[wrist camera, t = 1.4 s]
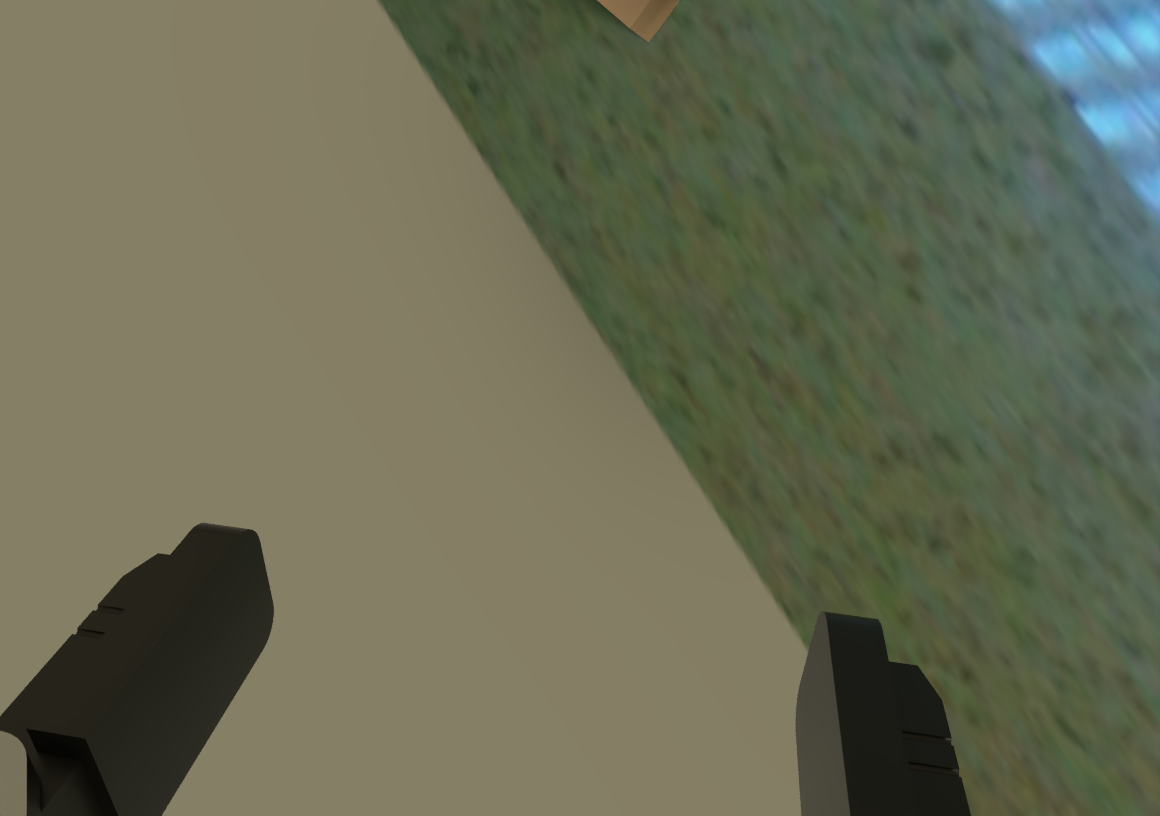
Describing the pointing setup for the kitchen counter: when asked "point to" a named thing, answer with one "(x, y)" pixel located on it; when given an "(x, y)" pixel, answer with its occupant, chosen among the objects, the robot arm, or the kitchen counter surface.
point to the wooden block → (641, 14)
